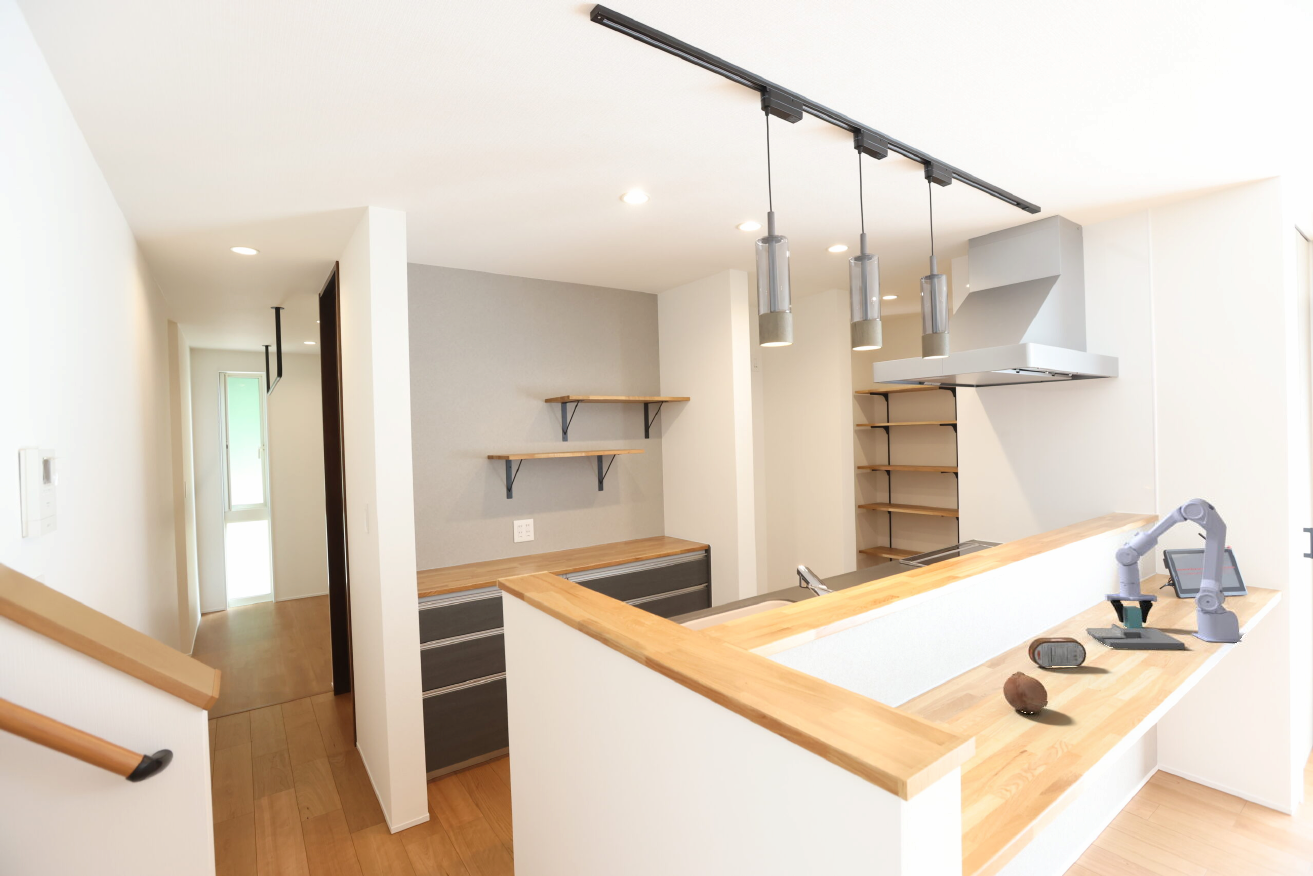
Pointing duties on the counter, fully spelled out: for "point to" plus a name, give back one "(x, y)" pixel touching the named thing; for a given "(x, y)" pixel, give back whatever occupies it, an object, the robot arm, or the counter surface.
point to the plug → (1132, 617)
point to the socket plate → (1142, 639)
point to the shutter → (1108, 632)
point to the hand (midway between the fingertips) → (1132, 622)
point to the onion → (1025, 693)
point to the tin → (1057, 652)
